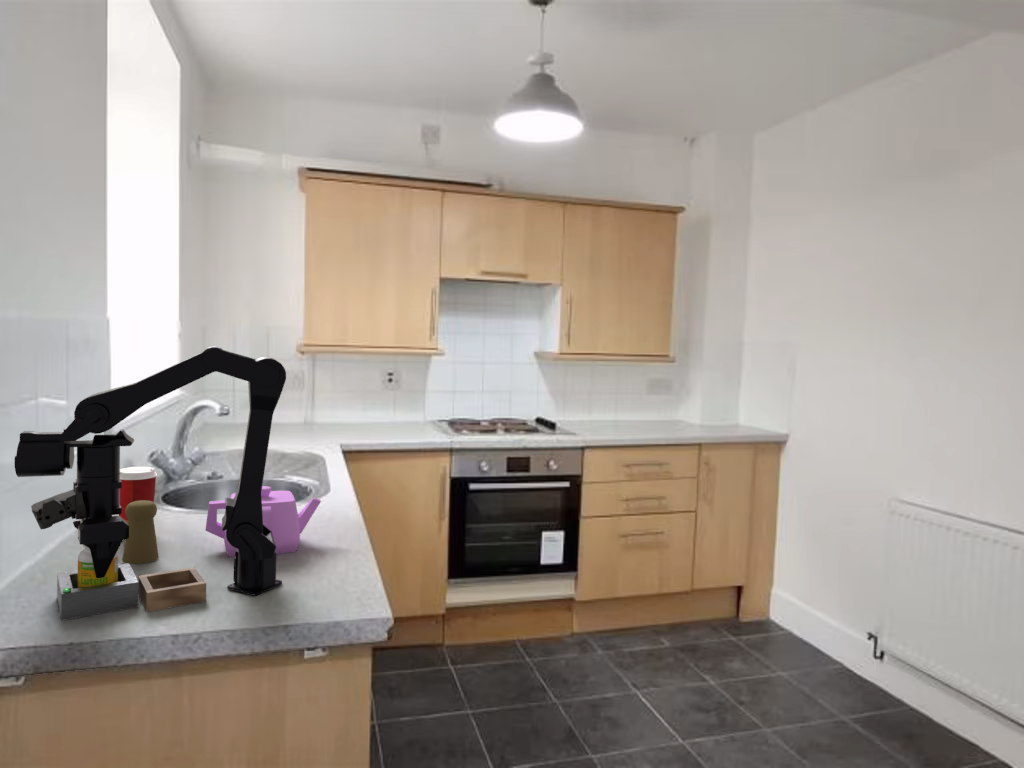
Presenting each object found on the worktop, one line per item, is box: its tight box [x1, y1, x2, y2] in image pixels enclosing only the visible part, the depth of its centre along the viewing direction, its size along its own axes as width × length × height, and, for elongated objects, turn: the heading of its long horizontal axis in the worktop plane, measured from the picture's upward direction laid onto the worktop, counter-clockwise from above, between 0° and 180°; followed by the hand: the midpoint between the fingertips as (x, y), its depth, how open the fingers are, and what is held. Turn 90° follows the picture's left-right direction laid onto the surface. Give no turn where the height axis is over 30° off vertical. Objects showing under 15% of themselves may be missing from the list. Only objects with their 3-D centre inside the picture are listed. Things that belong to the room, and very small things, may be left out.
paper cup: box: [118, 466, 158, 523], centre depth 139 cm, size 8×8×14 cm
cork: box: [121, 500, 159, 565], centre depth 125 cm, size 6×6×11 cm
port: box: [56, 563, 139, 621], centre depth 105 cm, size 10×10×4 cm
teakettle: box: [205, 485, 322, 558], centre depth 136 cm, size 17×17×12 cm
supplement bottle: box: [77, 545, 119, 588], centre depth 105 cm, size 5×5×10 cm
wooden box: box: [137, 567, 207, 613], centre depth 109 cm, size 8×8×3 cm
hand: (98, 571), depth 105 cm, fingers closed on supplement bottle, 5 cm apart
